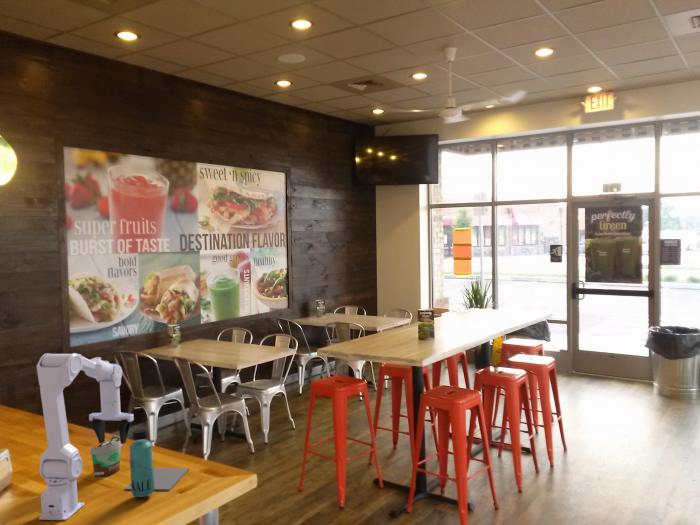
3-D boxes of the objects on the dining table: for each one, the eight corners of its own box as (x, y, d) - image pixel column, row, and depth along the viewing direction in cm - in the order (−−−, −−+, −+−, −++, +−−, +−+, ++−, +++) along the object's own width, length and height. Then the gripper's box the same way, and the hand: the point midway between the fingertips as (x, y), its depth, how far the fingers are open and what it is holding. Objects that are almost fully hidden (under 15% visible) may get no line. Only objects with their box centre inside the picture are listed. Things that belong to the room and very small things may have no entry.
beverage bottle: (147, 490, 177) (143, 424, 176) (159, 496, 173) (156, 429, 172) (127, 498, 172) (123, 431, 171) (139, 504, 168) (135, 435, 167)
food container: (109, 480, 186) (107, 448, 185) (91, 479, 187) (89, 448, 187) (131, 464, 198) (129, 435, 197) (114, 463, 199) (113, 434, 199)
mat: (169, 490, 177) (169, 489, 177) (124, 490, 178) (124, 488, 178) (188, 469, 192) (188, 468, 192) (147, 469, 194) (147, 467, 194)
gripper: (137, 397, 193) (140, 438, 194) (97, 397, 195) (99, 437, 196) (125, 404, 186) (128, 446, 187) (84, 403, 189) (86, 445, 189)
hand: (112, 442), depth 191 cm, fingers open, 7 cm apart
